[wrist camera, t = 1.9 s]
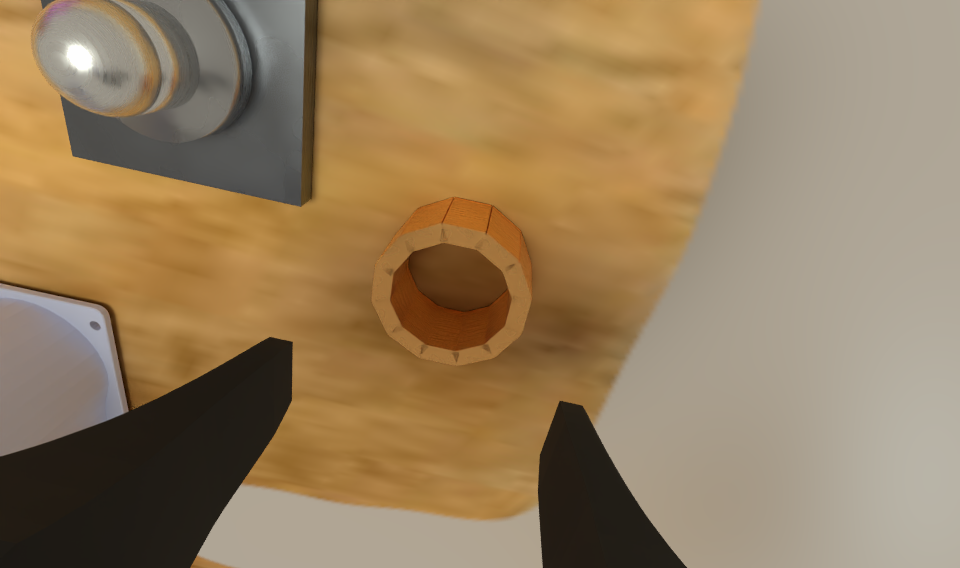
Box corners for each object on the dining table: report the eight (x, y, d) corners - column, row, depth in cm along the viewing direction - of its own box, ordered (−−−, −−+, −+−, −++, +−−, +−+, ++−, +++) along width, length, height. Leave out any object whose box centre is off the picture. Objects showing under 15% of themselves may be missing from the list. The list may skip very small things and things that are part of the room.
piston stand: (311, 198, 19) (236, 254, 14) (93, 150, 19) (-57, 189, 14) (319, -68, 15) (219, -118, 10) (42, -131, 15) (-195, -213, 10)
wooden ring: (511, 336, 22) (509, 377, 19) (386, 308, 22) (366, 346, 19) (544, 217, 19) (547, 246, 16) (401, 185, 19) (380, 209, 16)
